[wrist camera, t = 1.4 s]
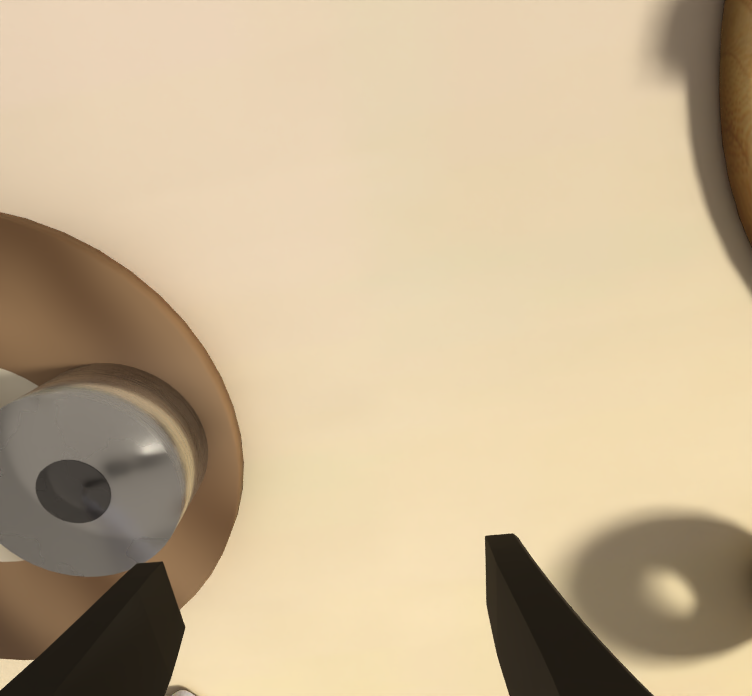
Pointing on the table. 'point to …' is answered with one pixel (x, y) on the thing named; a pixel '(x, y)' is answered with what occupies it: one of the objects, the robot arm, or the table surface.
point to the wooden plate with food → (737, 103)
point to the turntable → (116, 346)
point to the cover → (97, 469)
